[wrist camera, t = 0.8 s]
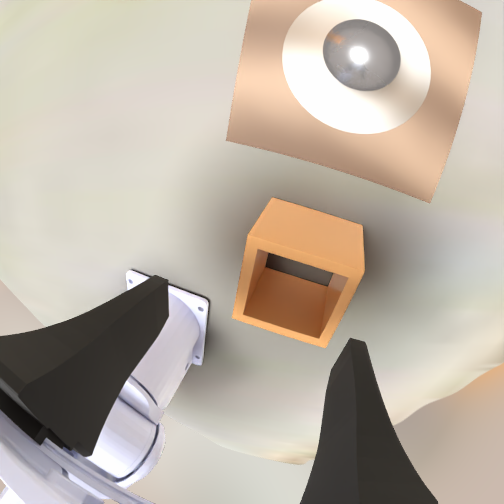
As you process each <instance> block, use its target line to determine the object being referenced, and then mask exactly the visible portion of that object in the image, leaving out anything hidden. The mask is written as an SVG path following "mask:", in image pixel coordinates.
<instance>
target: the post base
mask: <svg viewBox="0 0 504 504" xmlns="http://www.w3.org/2000/svg"><path fill="white" fill-rule="evenodd" d="M481 16H482V12H480V11H479V10H477V9H475V8H473V7H471V6H469V5H467V4H465V3H464V2H462V1H460V0H251V5H250V9H249V14H248V19H247V24H246V29H245V34H244V39H243V45H242V50H241V55H240V61H239V66H238V72H237V77H236V83H235V89H234V95H233V100H232V106H231V113H230V119H229V125H228V131H227V138H226V141H230V142H235V143H239V144H243V145H248V146H252V147H256V148H260V149H264V150H268V151H272V152H276V153H280V154H284V155H287V156H291V157H295V158H298V159H302V160H305V161H309V162H312V163H316V164H319V165H322V166H326V167H329V168H332V169H335V170H339V171H342V172H345V173H348V174H351V175H354V176H357V177H360V178H363V179H366V180H369V181H372V182H375V183H377V184H380V185H383V186H386V187H389V188H391V189H394V190H397V191H399V192H402V193H405V194H407V195H410V196H412V197H415V198H418V199H420V200H423V201H425V202H427V203H430V202H431V199H432V197H433V195H434V192H435V190H436V187H437V184H438V182H439V179H440V177H441V174H442V171H443V169H444V166H445V163H446V160H447V158H448V155H449V152H450V149H451V146H452V143H453V140H454V137H455V133H456V130H457V127H458V124H459V120H460V117H461V113H462V110H463V106H464V103H465V99H466V95H467V91H468V87H469V83H470V78H471V74H472V69H473V65H474V60H475V55H476V49H477V43H478V37H479V31H480V24H481ZM352 19H362V20H367V21H371V22H374V23H376V24H378V25H380V26H381V27H383V28H384V29H385V30H387V31H388V32H389V33H390V34H391V36H392V37H393V38H394V40H395V41H396V43H397V45H398V48H399V51H400V56H401V64H400V69H399V72H398V74H397V76H396V77H395V79H394V80H393V81H392V82H391V83H390V84H388V85H387V86H385V87H384V88H381V89H379V90H375V91H359V90H354V89H350V88H348V87H346V86H344V85H342V84H341V83H340V82H339V81H337V80H336V78H335V77H334V76H333V75H332V74H331V73H330V71H329V70H328V68H327V66H326V64H325V61H324V58H323V44H324V40H325V38H326V36H327V34H328V33H329V31H330V30H331V29H332V28H333V27H335V26H336V25H337V24H339V23H341V22H344V21H347V20H352Z"/></svg>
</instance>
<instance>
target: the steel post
mask: <svg viewBox="0 0 504 504" xmlns="http://www.w3.org/2000/svg"><path fill="white" fill-rule="evenodd" d="M323 58H324V61H325V64H326V66H327V68H328V70H329V71H330V73H331V74H332V75H333V76H334V77H335V78H336V80H337V81H339V82H340V83H341V84H342V85H344V86H346V87H348V88H350V89H354V90H359V91H375V90H379V89H381V88H384V87H385V86H387V85H388V84H390V83H391V82H392V81H393V80H394V79H395V77H396V76H397V74H398V72H399V69H400V64H401V56H400V51H399V48H398V45H397V43H396V41H395V40H394V38H393V37H392V36H391V34H390V33H389V32H388V31H387V30H385V29H384V28H383V27H381V26H380V25H378V24H376V23H374V22H371V21H367V20H362V19H352V20H347V21H344V22H341V23H339V24H337V25H336V26H335V27H333V28H332V29H331V30H330V31H329V33H328V34H327V36H326V38H325V40H324V44H323Z"/></svg>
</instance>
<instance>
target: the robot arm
mask: <svg viewBox="0 0 504 504" xmlns="http://www.w3.org/2000/svg"><path fill="white" fill-rule="evenodd" d="M126 278H127V287H128V291H126V292H124V293H122V294H121V295H119V296H117V297H115V298H114V299H112V300H110V301H108V302H106V303H104V304H102V305H100V306H98V307H96V308H94V309H92V310H90V311H88V312H86V313H84V314H81V315H79V316H77V317H74V318H72V319H69V320H67V321H64V322H61V323H58V324H55V325H52V326H48V327H45V328H42V329H38V330H34V331H30V332H25V333H20V334H13V335H7V336H0V479H1V480H2V481H3V482H4V483H5V484H6V487H5V488H4V490H3V491H2V492H1V494H0V504H104V501H103V500H102V499H112V500H114V501H116V502H118V503H120V504H154V503H152V502H150V501H148V500H146V499H144V498H142V497H140V496H138V495H136V494H134V493H132V492H130V491H128V490H126V489H127V488H128V487H129V486H130V485H132V484H133V483H135V482H136V481H139V480H141V479H142V478H144V477H145V476H146V475H148V474H149V472H150V471H151V470H152V469H153V468H154V466H155V465H156V464H157V462H158V461H159V459H160V457H161V455H162V452H163V450H164V446H165V428H164V426H163V425H162V424H161V423H160V420H161V418H162V416H163V414H164V412H163V411H162V410H163V409H165V408H166V407H167V406H168V404H169V403H170V401H171V399H172V398H173V396H174V394H175V392H176V390H177V389H178V387H179V385H180V383H181V381H182V380H183V378H184V376H185V374H186V372H187V371H188V369H189V367H190V365H191V363H193V364H196V365H202V363H203V355H204V345H205V334H206V324H207V315H208V305H209V304H208V301H207V300H206V299H204V298H202V297H199V296H197V295H194V294H191V293H188V292H186V291H183V290H180V289H178V288H175V287H173V286H170V285H168V280H167V279H164V278H162V277H159V276H156V275H154V276H152V277H150V278H149V277H147V276H144V275H142V274H139V273H137V272H134V271H132V270H129V271H128V272H127V273H126ZM201 307H202V308H201ZM300 504H438V501H437V500H436V499H435V497H434V496H433V495H432V493H431V492H430V491H429V489H428V488H427V487H426V485H425V484H424V483H423V481H422V480H421V478H420V477H419V475H418V473H417V472H416V470H415V469H414V467H413V465H412V463H411V462H410V460H409V458H408V456H407V455H406V453H405V451H404V449H403V447H402V445H401V443H400V441H399V439H398V437H397V435H396V433H395V430H394V428H393V426H392V423H391V421H390V418H389V416H388V413H387V410H386V408H385V405H384V402H383V399H382V396H381V393H380V390H379V387H378V384H377V381H376V378H375V374H374V371H373V367H372V364H371V360H370V357H369V353H368V349H367V346H366V343H365V342H364V341H360V340H356V339H352V338H350V339H349V340H348V342H347V344H346V346H345V347H344V349H343V351H342V352H341V354H340V356H339V357H338V359H337V361H336V362H335V364H334V366H333V367H332V369H331V373H330V377H329V381H328V385H327V390H326V395H325V403H324V411H323V418H322V425H321V433H320V439H319V445H318V450H317V454H316V457H315V461H314V464H313V467H312V471H311V474H310V477H309V480H308V483H307V486H306V489H305V492H304V494H303V497H302V500H301V502H300Z"/></svg>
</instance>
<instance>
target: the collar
mask: <svg viewBox="0 0 504 504" xmlns="http://www.w3.org/2000/svg"><path fill="white" fill-rule="evenodd" d="M268 253H272V254H276V255H279V256H282V257H285V258H288V259H291V260H295V261H298V262H301V263H304V264H307V265H310V266H314V267H317V268H320V269H323V270H326V271H329V272H333V276H332V278H331V281H330V283H329V285H328V287H327V286H324V285H320V284H317V283H314V282H311V281H308V280H305V279H301V278H298V277H295V276H292V275H289V274H286V273H283V272H279V271H276V270H273V269H270V268H267V267H265V265H266V261H267V257H268ZM364 272H365V264H364V242H363V226H362V225H360V224H357V223H354V222H351V221H348V220H345V219H342V218H339V217H336V216H333V215H329V214H326V213H323V212H320V211H317V210H313V209H310V208H307V207H304V206H300V205H297V204H294V203H290V202H287V201H284V200H280V199H277V198H273V197H272V198H271V200H270V201H269V203H268V204H267V206H266V207H265V209H264V210H263V212H262V213H261V215H260V217H259V218H258V220H257V221H256V223H255V224H254V226H253V227H252V229H251V230H250V232H249V234H248V236H247V241H246V246H245V252H244V257H243V262H242V267H241V272H240V278H239V283H238V288H237V293H236V299H235V304H234V309H233V315H232V318H233V319H236V320H239V321H242V322H245V323H248V324H251V325H254V326H257V327H260V328H263V329H266V330H269V331H272V332H275V333H278V334H281V335H284V336H287V337H290V338H294V339H297V340H300V341H303V342H307V343H310V344H313V345H317V346H320V347H323V348H326V346H327V345H328V343H329V341H330V339H331V337H332V336H333V334H334V332H335V330H336V328H337V326H338V324H339V322H340V321H341V319H342V317H343V315H344V313H345V311H346V309H347V307H348V305H349V303H350V301H351V299H352V297H353V295H354V293H355V291H356V289H357V287H358V285H359V283H360V281H361V278H362V276H363V274H364Z"/></svg>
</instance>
